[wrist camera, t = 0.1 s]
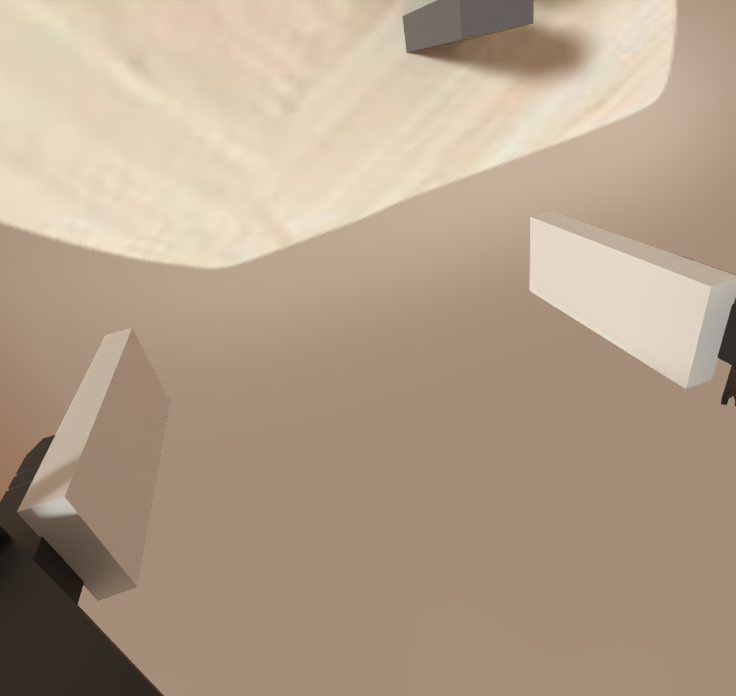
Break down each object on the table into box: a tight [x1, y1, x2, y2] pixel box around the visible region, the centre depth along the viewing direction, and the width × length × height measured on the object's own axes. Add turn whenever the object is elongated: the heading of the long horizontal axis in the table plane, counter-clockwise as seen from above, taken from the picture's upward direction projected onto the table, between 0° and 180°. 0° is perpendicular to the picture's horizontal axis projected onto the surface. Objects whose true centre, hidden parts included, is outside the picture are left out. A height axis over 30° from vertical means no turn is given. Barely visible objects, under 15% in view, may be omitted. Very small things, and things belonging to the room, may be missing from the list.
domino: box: [403, 0, 533, 52], centre depth 32 cm, size 2×5×10 cm, turn 100°
